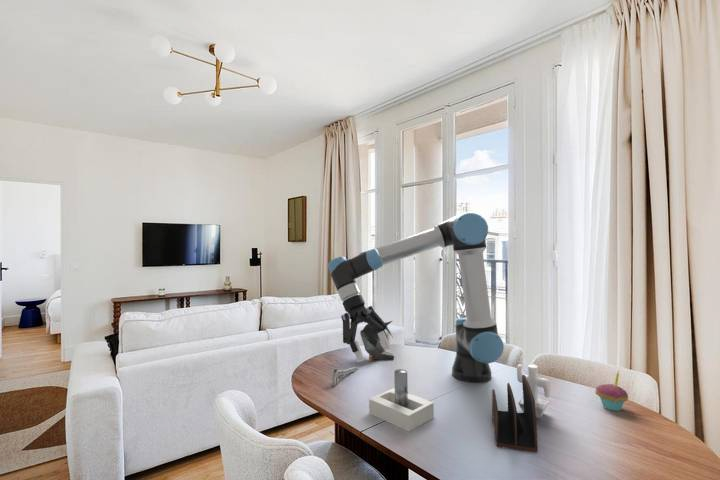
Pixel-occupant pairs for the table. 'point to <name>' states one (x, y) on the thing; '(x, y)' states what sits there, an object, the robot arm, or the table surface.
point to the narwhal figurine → (374, 343)
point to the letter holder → (516, 421)
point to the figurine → (535, 388)
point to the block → (401, 410)
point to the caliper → (341, 374)
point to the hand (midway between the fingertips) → (375, 355)
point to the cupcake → (612, 395)
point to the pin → (401, 387)
